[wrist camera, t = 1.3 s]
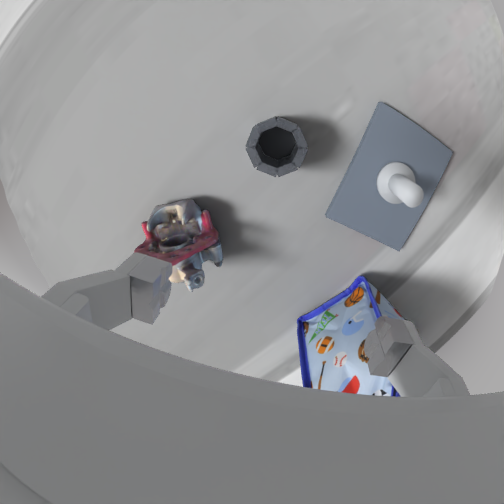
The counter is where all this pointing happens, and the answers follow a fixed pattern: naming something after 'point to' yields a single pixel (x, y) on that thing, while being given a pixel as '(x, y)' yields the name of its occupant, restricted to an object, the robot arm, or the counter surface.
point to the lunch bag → (343, 342)
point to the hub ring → (269, 163)
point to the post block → (389, 178)
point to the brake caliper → (182, 240)
